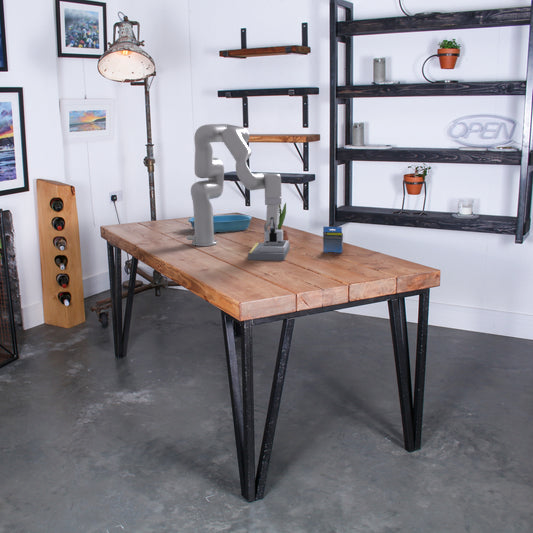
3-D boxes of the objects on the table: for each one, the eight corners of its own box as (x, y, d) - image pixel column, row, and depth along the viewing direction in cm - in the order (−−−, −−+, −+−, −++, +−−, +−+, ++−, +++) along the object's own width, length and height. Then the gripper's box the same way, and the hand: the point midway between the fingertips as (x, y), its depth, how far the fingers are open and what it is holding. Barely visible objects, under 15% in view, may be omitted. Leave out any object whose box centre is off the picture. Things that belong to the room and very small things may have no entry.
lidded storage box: (264, 243, 293) (264, 224, 291) (266, 241, 298) (265, 223, 296) (282, 243, 292) (281, 225, 290) (283, 241, 297) (282, 223, 295)
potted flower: (261, 243, 322) (260, 193, 316) (271, 239, 331) (270, 191, 325) (283, 245, 317) (282, 194, 311) (291, 241, 326) (291, 192, 320)
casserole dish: (244, 224, 379) (244, 212, 377) (258, 230, 358) (258, 217, 357) (183, 229, 365) (183, 217, 364) (194, 236, 345) (193, 223, 343)
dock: (248, 259, 287) (248, 249, 285) (256, 248, 310) (256, 238, 308) (283, 260, 284) (283, 249, 283) (289, 249, 307) (289, 238, 306)
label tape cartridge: (343, 251, 300) (343, 225, 298) (341, 253, 297) (342, 227, 294) (324, 250, 303) (324, 225, 300) (322, 252, 299) (323, 226, 296)
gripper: (267, 198, 300) (268, 237, 304) (262, 203, 283) (263, 244, 287) (283, 198, 299) (284, 237, 303) (279, 203, 282) (279, 244, 286)
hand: (273, 240), depth 295 cm, fingers closed on lidded storage box, 5 cm apart
